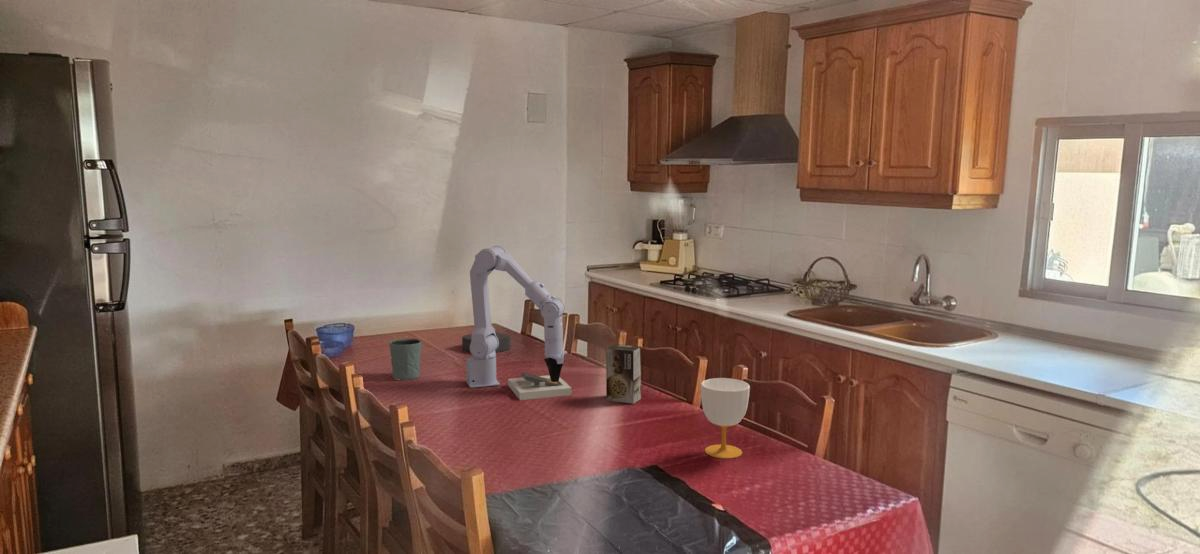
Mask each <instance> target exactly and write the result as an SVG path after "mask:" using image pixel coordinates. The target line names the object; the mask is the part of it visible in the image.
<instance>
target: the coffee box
mask: <svg viewBox="0 0 1200 554" xmlns="http://www.w3.org/2000/svg"><path fill="white" fill-rule="evenodd" d="M605 359H606V360H605V361H606V363H605V364H606V365H605V366H606V367H605V372H606V373H605V375H606V376H605V377H606V379H605V381H606V385H605V387H606V390H605V393H606V396H605V397H606V399H605V400H606V401H609V402H617V403H624V404H631V405H632V404H633V405H634V404H636V403H637V402H638V401H640V400H641V399H642V346H640V345H639V346H638V345H632V344H631V345H629V344H619V343H613V344H611V345H610V346H608V347H606V348H605Z"/></svg>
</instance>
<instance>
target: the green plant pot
mask: <svg viewBox="0 0 1200 554" xmlns="http://www.w3.org/2000/svg"><path fill="white" fill-rule="evenodd" d="M388 343H389V350H390V361H391V370H392V371H391V372H392V379H393V378H395V379H400V380H407V381H409V380H408V379H414V380H416V379H415V378H417V377H418V378H419V377H420V373H421V372H420V371H421V369H420V368H421V367H420V365H421V354H422V353H421V351H422V343H423V342H422V340H421V339H419V338H396V339H392V340H390V341H389V342H388ZM418 378H417V379H418ZM395 379H394V380H395ZM400 380H399V381H400Z"/></svg>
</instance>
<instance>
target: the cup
mask: <svg viewBox="0 0 1200 554" xmlns="http://www.w3.org/2000/svg"><path fill="white" fill-rule="evenodd" d="M750 390H751V386H750V384H749V383H748V382H746V381H744V380H741V379H735V378H731V377H730V378H727V377H717V378H716V377H715V378H714V377H713V378H708V379H705V380H702V382H701V383H700V396H701V406H702V410H703V413H704V415H705V418H706V419H707V420H708V422H710V423H712V424H713V425H714V426H715V425H716V426H718V427H720V428H721V444H712V445H709V446H707V447H705V449H704V453H705V454H706V455H708V456H709V455H710V456H709V457H712V458H716V459H721V460H727V459H728V460H730V459H735V458H739V457H741V456H742V454H743V450H742V449H741V448H739V447H737V446H733V445H729V444H727V429H728V428H730V427H732V426H735V425H738V424H739V423H740V422H741V421H742V420H743V418H744V417H745V416H746V412H747V411H748V406H749V400H750V399H749V398H750Z"/></svg>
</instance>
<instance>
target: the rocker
mask: <svg viewBox="0 0 1200 554" xmlns="http://www.w3.org/2000/svg"><path fill="white" fill-rule="evenodd" d="M520 376H521V378H524V379H525V380H528V381H531V382H535V383H539V382H545V385H546V386H550V387H551V386H559V385H558V384H557V383H556V382H552V381H551V379H547V378H543V377H539V376H540V375H535V374H532V373H527V372H524V371H521V374H520Z"/></svg>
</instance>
